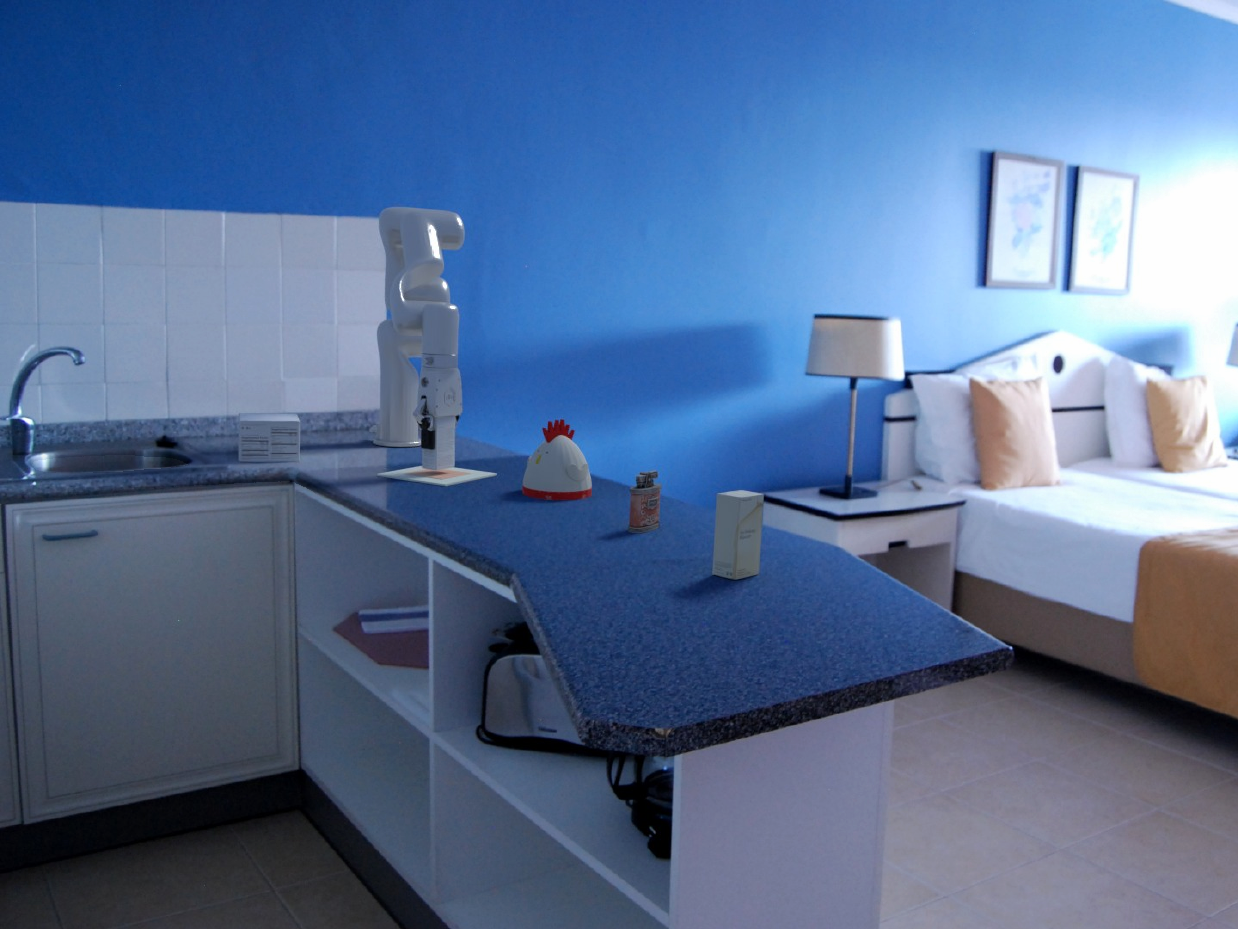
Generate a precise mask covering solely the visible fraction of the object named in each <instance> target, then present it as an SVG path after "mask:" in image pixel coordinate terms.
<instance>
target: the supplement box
mask: <svg viewBox="0 0 1238 929" xmlns="http://www.w3.org/2000/svg"><path fill="white" fill-rule="evenodd" d="M300 448H301V420H300V418H299V415H298V414H297V413H295V412H294V413H293V412H291V413H290V412H287V413H286V412H283V413H282V412H239V414H238V462H239V463H240V462H244V463H245V462H246V463H258V462H259V463H261V462H262V463H269V462H270V463H271V462H272V463H275V462H276V463H277V462H280V463H283V462H285V463H287V462H290V463H291V462H293V463H298V462H299V463H300V459H301V458H300V454H301V453H300V450H301V449H300Z"/></svg>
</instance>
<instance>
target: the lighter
mask: <svg viewBox="0 0 1238 929" xmlns="http://www.w3.org/2000/svg"><path fill="white" fill-rule="evenodd" d="M656 479H659V472H658V470H651V471H640V473H639V474H637V475H635V482H636V485H634V486H631V487H629V493H630V504H629V506H630V508H629V523H628V524H629V525H628V526H627V532H629V533H633V534H641V533H642V534H643V533H646V532H651V531H654V530H656V529H658V528H660V527H661V526H660V524H661V521H660V506H661V490H663V489H662V488H663V487H662V486H663V485H662V484H661V483H655V480H656Z"/></svg>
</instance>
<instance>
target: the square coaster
mask: <svg viewBox="0 0 1238 929" xmlns="http://www.w3.org/2000/svg"><path fill="white" fill-rule="evenodd" d="M497 474H498V473H495V472H488V471H482V470H481V471H480V470H475V469H470V468H469V469H468V468H460V467H455V466H454V467H451V468H446V469H441V470H431V469H424V468H422V465H419V466H414V467H412V466H411V467H407V468H403V469H396V470H392V471H386V472H380V473H377V474H376V476H377V477H381V478H387V479H395V480H401V481H406V482H407V481H409V482H413V483H414V482H416V483H420V484H426V485H428V484H429V485H433V486H434V485H435V486H441V487H448V486H453V485H459V484H462V483H463V484H464V483H468V482H472V481H476V480H477V481H478V480H480V479H481V480H482V479H486V478H491V477H495V476H497Z"/></svg>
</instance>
